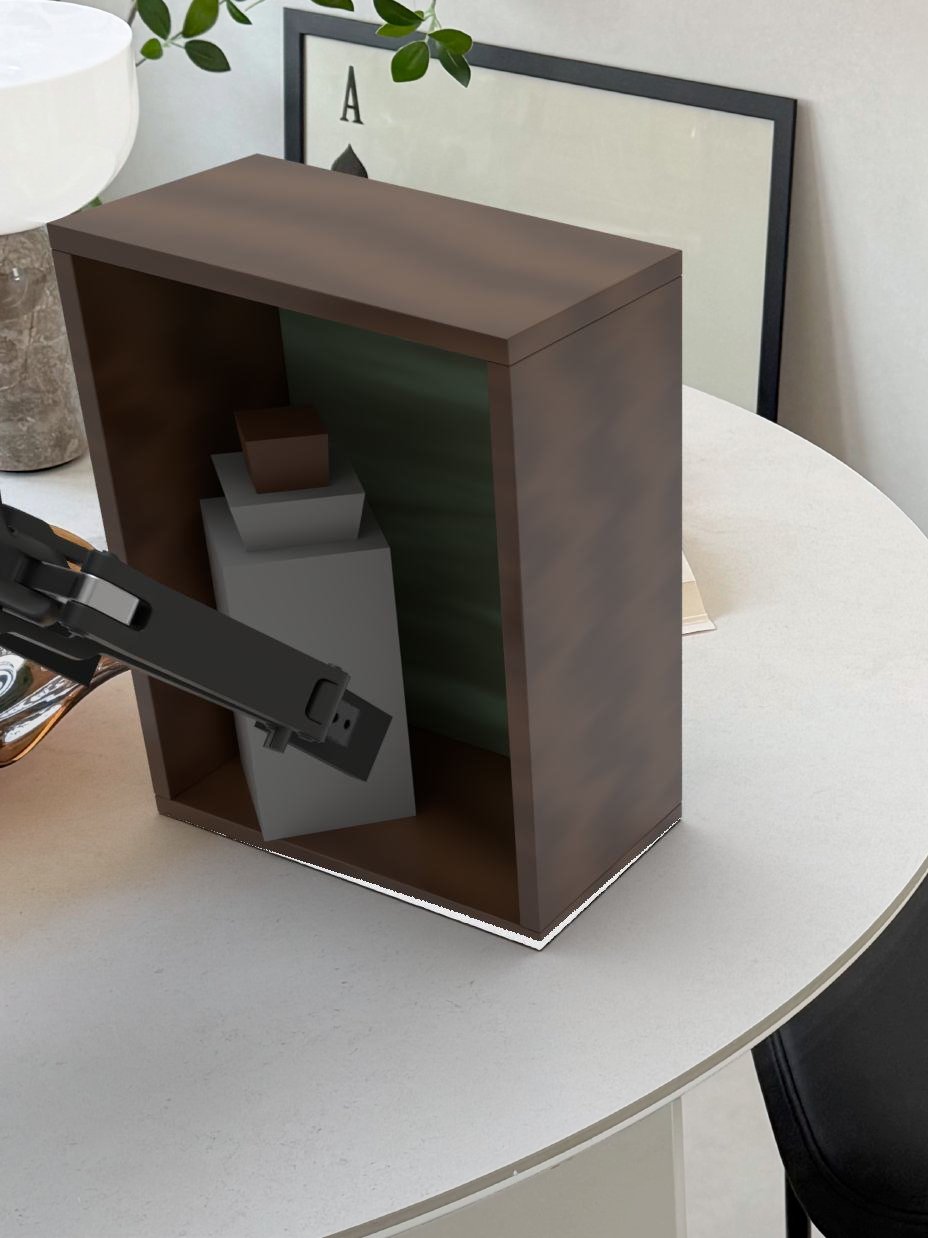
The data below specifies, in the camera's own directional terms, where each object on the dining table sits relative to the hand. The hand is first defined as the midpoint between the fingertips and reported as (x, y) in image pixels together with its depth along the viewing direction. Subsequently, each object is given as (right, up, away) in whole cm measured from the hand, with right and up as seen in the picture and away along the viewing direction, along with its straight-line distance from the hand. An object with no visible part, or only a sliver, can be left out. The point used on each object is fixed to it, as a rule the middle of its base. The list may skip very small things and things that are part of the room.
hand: (230, 699), depth 77 cm
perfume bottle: (0, -3, +14) cm, 15 cm away
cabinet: (+4, -4, +15) cm, 16 cm away
